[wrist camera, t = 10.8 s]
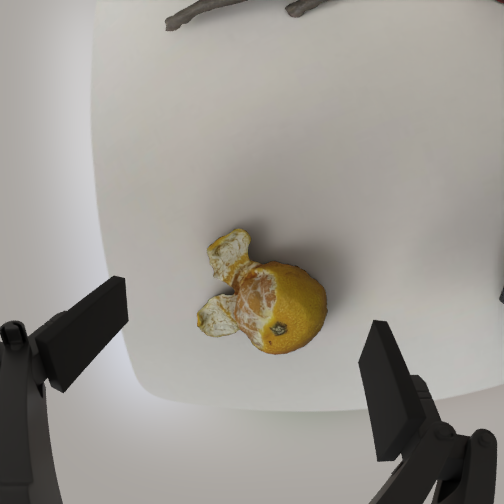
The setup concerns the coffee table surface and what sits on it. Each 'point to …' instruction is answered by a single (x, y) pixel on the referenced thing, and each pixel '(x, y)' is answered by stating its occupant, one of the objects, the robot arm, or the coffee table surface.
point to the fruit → (262, 299)
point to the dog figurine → (207, 3)
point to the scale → (502, 297)
